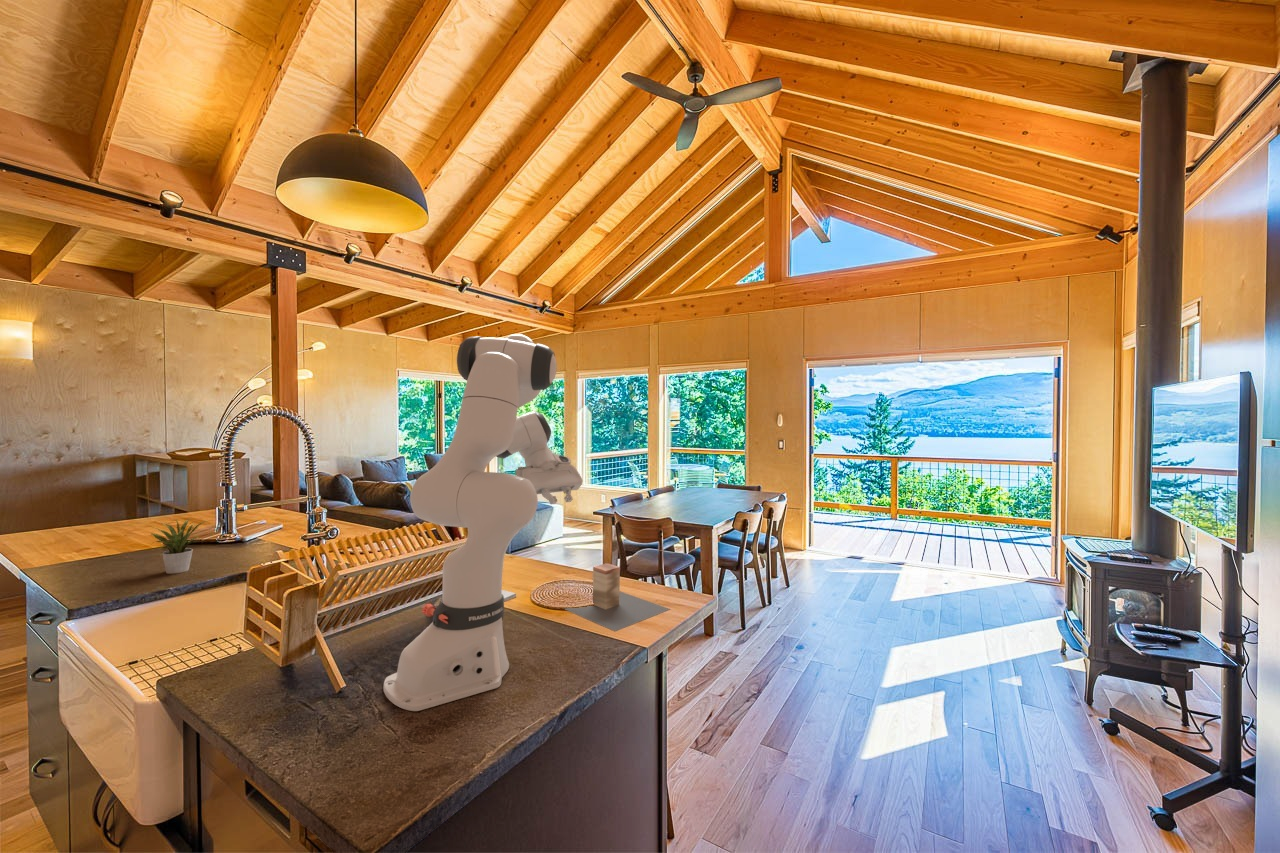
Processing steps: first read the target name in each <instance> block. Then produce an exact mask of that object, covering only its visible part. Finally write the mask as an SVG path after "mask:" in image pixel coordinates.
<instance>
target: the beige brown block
mask: <svg viewBox="0 0 1280 853" xmlns="http://www.w3.org/2000/svg"><path fill="white" fill-rule="evenodd" d="M620 573H621V567H620V566H617V565H614V564H611V563H607V562H606V563H603V564H599V565H598V564H597V565H595V566H593V567H592V600H593V603H594V604H595V606H598V607H600V608H603V609H608V608H611V607H614V606H617V605H619V592H620V591H621V590H620V582H621V579H620V578H621V576H620V575H621V574H620Z"/></svg>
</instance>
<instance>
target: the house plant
mask: <svg viewBox="0 0 1280 853" xmlns="http://www.w3.org/2000/svg"><path fill="white" fill-rule="evenodd" d="M175 521H176V529H175V528H174V527H173V526H172V524H169V523H168V522H166V523H161V524H162V525H163V526H165V527H166V528H168V530H169V531H170V532H168V531H166V530H163V529H160V528H157V527H152V526H151V528H154V529H156V530H158V531H159V532H161V533H162V534H163V535H164V536H165V537H164V536H163V535H160V534H157V533H152V532H151V533H149V534H150V535H151V536H153V537H154V538H155V539H157V540H155V541H153V542H152V544H154V543H162V544H164V545H162V546H161V547H160V549H162V548H165V547H166V548H167V549H168V550H166V551H163V552H162V553H161V554H162V558H163V563H164V569H165V572H166V574H170V575H173V574H180V573H181V574H182V573H184V572H188V571H189V570H190V565H191V560H192V556H193V555H192V554H193V551H194V549H193V548H190V547H189V548H188V545H190V544H192V543H197V542H199V538H201V539H202V537H201V536H195V537H193V538H190V539H189V537H190V535H192V534H193V533H194V532H195V531H196V530H197V529H198V528H199V527H200V526H202V524H204V523H207V522H208V520H205V521H202V522H200V523H196V524H195V523H194V521H192V522H191V523H189V522H190V519H187V520H185V521H184V522H183V523H182V525H181V527H180V523H179V522H178V520H177V519H176V520H175ZM211 521H212V520H210V522H211ZM195 522H197V521H195ZM188 523H189V524H188ZM187 527H188V529H186V528H187ZM176 530H177V531H176ZM185 532H186V533H185ZM166 537H167V538H166ZM188 539H189V540H188ZM195 539H198V540H195Z"/></svg>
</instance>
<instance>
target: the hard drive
mask: <svg viewBox="0 0 1280 853" xmlns="http://www.w3.org/2000/svg"><path fill="white" fill-rule="evenodd" d="M502 595H503V596H504V603H505V602H507V601H509V600H511V599H514V598H517V594H516V593H515V592H513V591H509V590H504V589H502Z"/></svg>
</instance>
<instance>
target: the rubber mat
mask: <svg viewBox="0 0 1280 853" xmlns="http://www.w3.org/2000/svg"><path fill="white" fill-rule="evenodd" d="M570 607H571V606H570ZM570 607H567V608H566V607H565V608H564V610H565V611H567V612H569V613H571V614H574V615H577V616H578V617H581V618H583V619H585V620H587V621H590V622H592V623H594V624H597V625H599V626H601V627H604V628H606V629H609V630H610V631H613V632H617V631H619V630H622V629H624V628H627V627H630V626H633V625H635V624H637V623H640V622H643V621H645V620H648V619H650V618H653V617H655V616H658V615H661V614H662V613H666V612H668V611H670V610H671V608H668V607H667V606H666V607H665V606H663V605H660V604H657V603H654V602H651V601H649V600H646V599H643V598H641V597H637V596H635V595H631V594H629V593H626V592H623V591H621V590H620V592H619V605H617V606H614V607H611V608H608V609H603V608H600V607H598V606H595V605H594V606H587V607H579V608H570Z"/></svg>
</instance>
